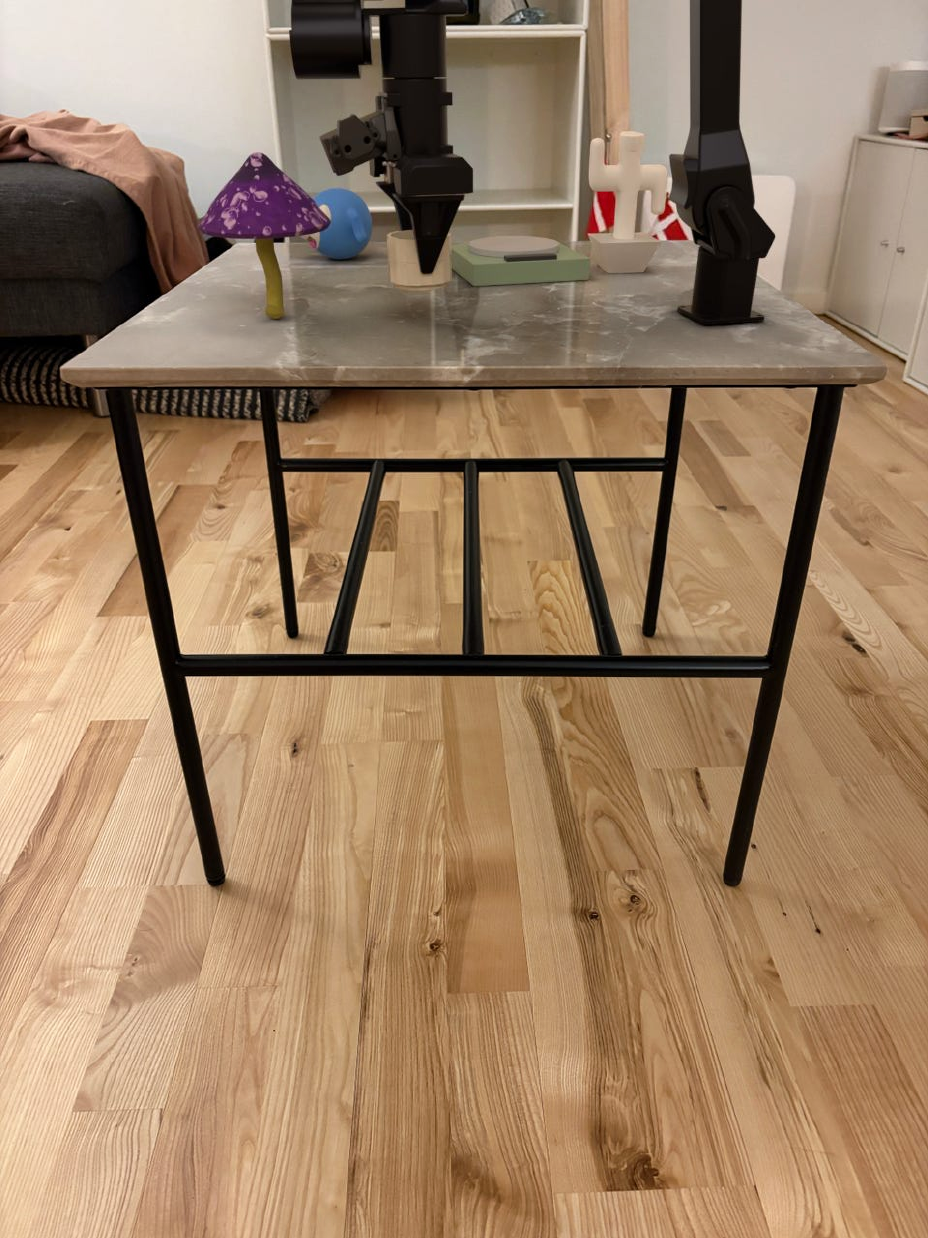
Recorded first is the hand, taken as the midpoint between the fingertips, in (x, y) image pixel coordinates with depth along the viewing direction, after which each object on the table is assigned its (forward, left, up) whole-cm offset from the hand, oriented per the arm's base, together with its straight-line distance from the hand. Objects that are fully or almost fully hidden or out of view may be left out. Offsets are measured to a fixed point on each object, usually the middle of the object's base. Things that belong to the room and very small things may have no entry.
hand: (420, 267), depth 88 cm
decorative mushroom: (+5, +14, -5) cm, 16 cm away
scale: (+22, -16, -5) cm, 28 cm away
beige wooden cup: (0, 0, -2) cm, 2 cm away
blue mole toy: (+36, +5, -5) cm, 37 cm away
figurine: (+20, -29, -5) cm, 36 cm away
